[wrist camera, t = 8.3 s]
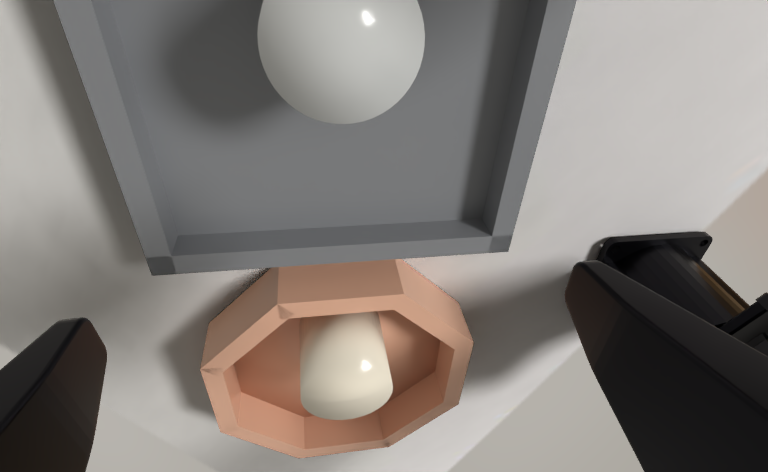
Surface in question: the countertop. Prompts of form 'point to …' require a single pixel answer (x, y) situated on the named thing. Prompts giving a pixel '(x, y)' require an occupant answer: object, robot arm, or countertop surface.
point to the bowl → (282, 355)
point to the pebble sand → (343, 365)
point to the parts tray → (313, 135)
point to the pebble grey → (341, 54)
